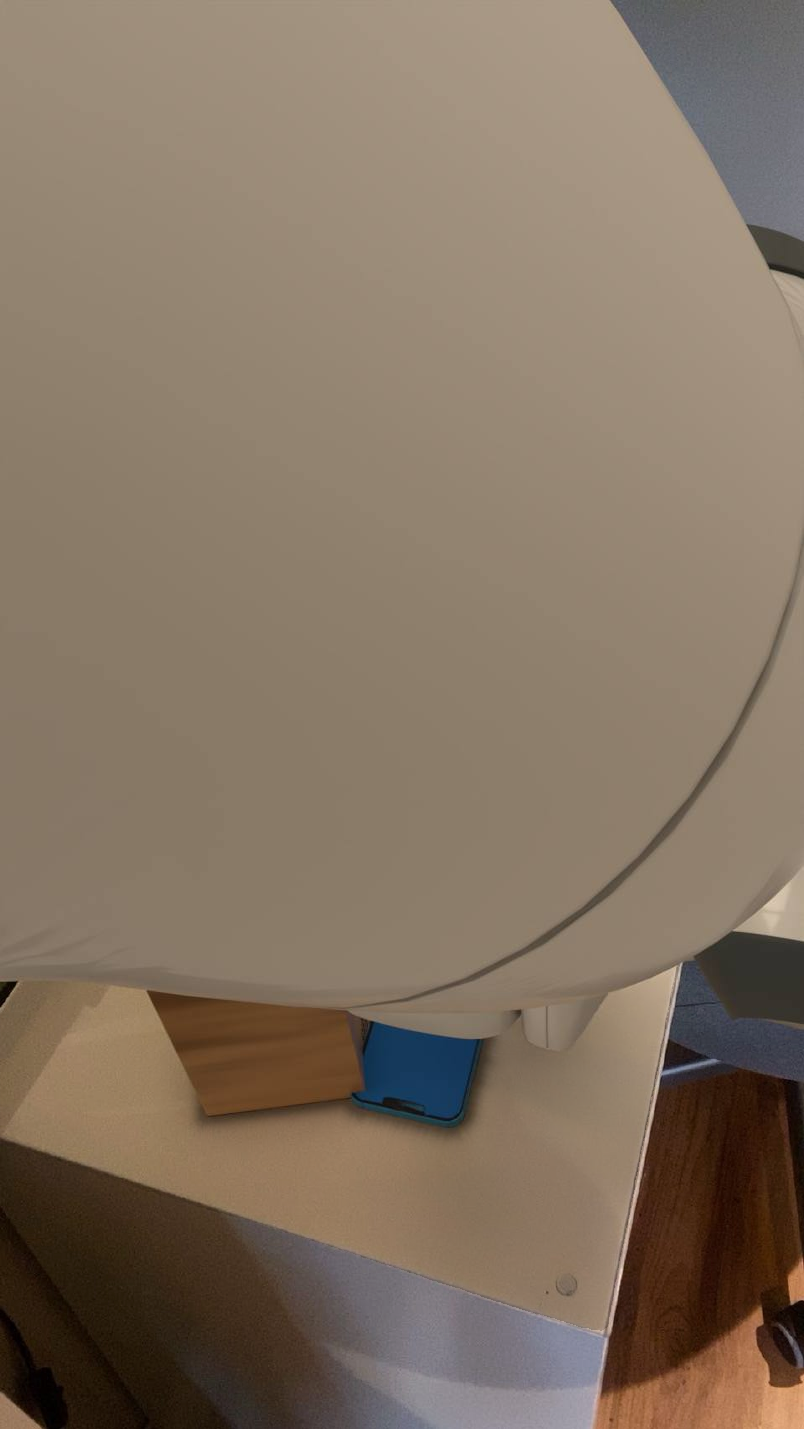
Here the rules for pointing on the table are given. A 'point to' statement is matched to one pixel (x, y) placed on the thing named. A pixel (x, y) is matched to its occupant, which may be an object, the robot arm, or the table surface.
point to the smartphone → (417, 1074)
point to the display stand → (262, 1051)
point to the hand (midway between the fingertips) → (310, 773)
